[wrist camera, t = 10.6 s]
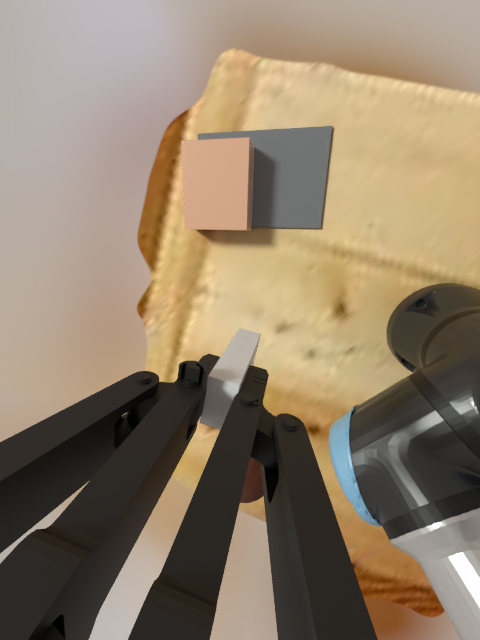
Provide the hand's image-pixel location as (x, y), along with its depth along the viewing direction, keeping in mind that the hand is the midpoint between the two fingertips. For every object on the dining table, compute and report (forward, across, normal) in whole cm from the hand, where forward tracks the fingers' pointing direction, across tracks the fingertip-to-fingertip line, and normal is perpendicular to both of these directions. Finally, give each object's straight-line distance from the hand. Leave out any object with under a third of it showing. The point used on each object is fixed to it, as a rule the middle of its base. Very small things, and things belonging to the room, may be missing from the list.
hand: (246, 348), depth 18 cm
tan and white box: (+26, +11, -6) cm, 29 cm away
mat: (+28, +7, -15) cm, 33 cm away
